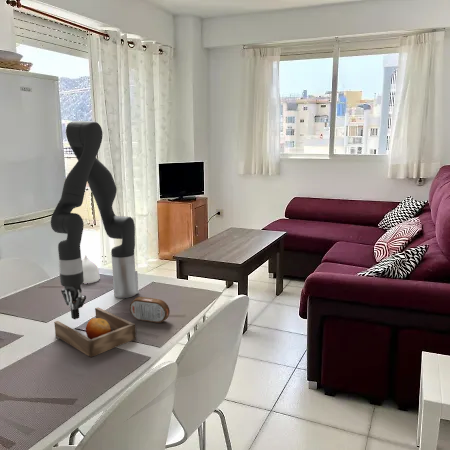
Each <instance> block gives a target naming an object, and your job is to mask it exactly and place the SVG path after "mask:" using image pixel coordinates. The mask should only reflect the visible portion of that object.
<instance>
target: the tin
mask: <svg viewBox="0 0 450 450" xmlns="http://www.w3.org/2000/svg"><path fill="white" fill-rule="evenodd" d="M170 311H171V310H170V307H169V305H168V304H167V303H166V302H165V301H164V300H162V299H160V298H153V297H152V298H151V297H145V296H136V297H135V298H134V299H133V300H132V301H131V302H130V303H129V312H130V314H131V316H132V317H133V318H134V319H135V320H137V321H143V322H150V323H155V324H160V323H163V322H164V321H166V320H167V319H168V318H169V316H170V314H171V313H170Z"/></svg>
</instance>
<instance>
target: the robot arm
mask: <svg viewBox="0 0 450 450" xmlns="http://www.w3.org/2000/svg"><path fill="white" fill-rule="evenodd" d="M103 134H104V133H103V128H102V126H101V125H100V123H98V122H97V121H93V120H85V121H84V120H72V121H70V122H68V123H67V125H66V127H65V136H66V139H67V143H68V145H69V146H70V149H71V150H72V152H73V154H74V155H75V157H76V160H77V162H76V163H75V164H74V166H73V167H72V168H71V170H70V171H69V173H68V174H67V176H66V177H65V180H64V182H63V187H62V192H61V196H60V200H59V201H58V203H57V204H56V205H55V206H56V207H55V209H54V211H53V213H52V214H51V217H50V226H51V229H52V231H53V232H55V233H57V234H66V235H67V236H66V239H64V240H63V239H62V240H61V241H60V242H58V245H57V252H58V260H59V261H58V262H59V263H58V270H59V277H60V278H59V279H60V281H59V282H60V285H61V286H62V287H63V288H64V289H61V294H62V298H63V299H64V302H65V304H66V306H69V309H70V313H71V314H70V316H71V319H73V320H78V319H79V318H80V308H83V306H84V304H85V301H86V300H87V296H86V295H83V294H82V292H83V291H82V285H83V284H82V283H83V282H84V277H83V265H82V260H83V259H82V254H81V253H82V252H81V251H82V250H81V243H82V237H83V234H84V233H83V232H84V226H85V225H84V220H83V218H82V216H81V215H80V214H79V213H76V212H73V209H76V208H79V207H82V205H83V202H84V197H85V193H86V189H87V184H88V186H89V190H90V192H91V194H92V196H93V198H94V201H95V203H96V206H97V208H98V212H99V215H100V217H101V221H102V225H103V227H104V228H103V229H104V231H105V233H106V235H107V237H109V238H111V239H118V240H121V244H120V245H116V246H114V247H112V248H111V250H110V251H111V252H110V253H111V254H110V255H111V267H112V286H113V295H114V297H115V298H119V299H127V298H131V297H134V296H137V294H139V276H138V271H137V270H136V261H135V260H136V258H135V247H136V226H135V221H134V218H133V217H131V216H123V215H120V216H119V215H116V214H115V212H114V209H113V204H114V201H115V198H116V195H117V191H118V189H117V186H116V185H117V184H116V182H115V180H114V178H113V175H112V172H111V171H110V170H109V169H108V168H107V167H106V166H105V165H104V164H103V163H102V162H101V161H100V160H99V159H98V158H97V156H98V153H99V151H100V148H101V145H102V141H103V137H104V136H103Z"/></svg>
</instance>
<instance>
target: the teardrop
mask: <svg viewBox="0 0 450 450" xmlns="http://www.w3.org/2000/svg"><path fill="white" fill-rule="evenodd" d="M82 265H83V277H84V282H83V283H84V284H83V285H85V284H87V283H88V284H92V283H97V282H98V281H100V280H99V279H101V277H100V276H101V275H100V269H99V267H98V265H97V264H96V263H95V262H94V261H93V260H91V259H90V258H89V257H87V255H84V257H83V259H82Z"/></svg>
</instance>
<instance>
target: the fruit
mask: <svg viewBox="0 0 450 450" xmlns="http://www.w3.org/2000/svg"><path fill="white" fill-rule="evenodd" d="M109 332H112V329H111V328H110V325H109V323H108V322H107V321H106V320H104V319H101V318H96V317H92V318H91V319H90V320H89V321H88V322H87V323H86V326H85V334H86V337H88V338H90V339H93V338H96V337H99V336H101V335H104V334H106V333H109Z"/></svg>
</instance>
